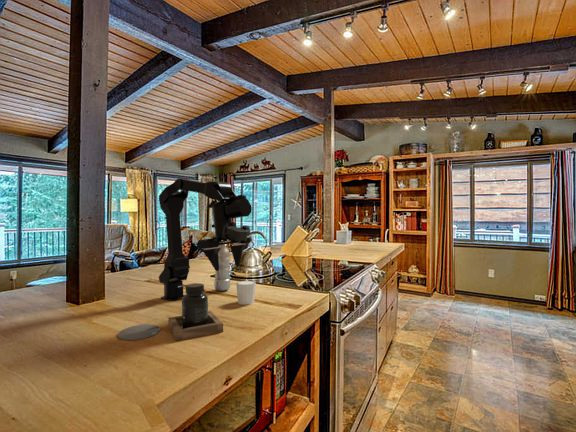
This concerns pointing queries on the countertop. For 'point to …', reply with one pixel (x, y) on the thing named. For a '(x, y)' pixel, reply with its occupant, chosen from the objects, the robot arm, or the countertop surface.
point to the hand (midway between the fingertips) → (227, 268)
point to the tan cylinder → (246, 292)
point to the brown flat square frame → (195, 331)
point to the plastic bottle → (222, 269)
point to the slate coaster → (139, 332)
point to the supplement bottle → (194, 306)
